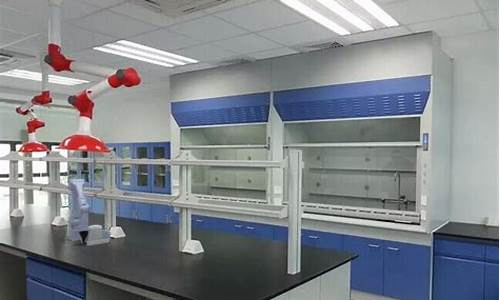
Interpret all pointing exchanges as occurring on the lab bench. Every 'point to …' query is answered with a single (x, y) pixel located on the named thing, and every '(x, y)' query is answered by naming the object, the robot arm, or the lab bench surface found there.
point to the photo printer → (94, 233)
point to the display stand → (104, 240)
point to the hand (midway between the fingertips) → (83, 242)
